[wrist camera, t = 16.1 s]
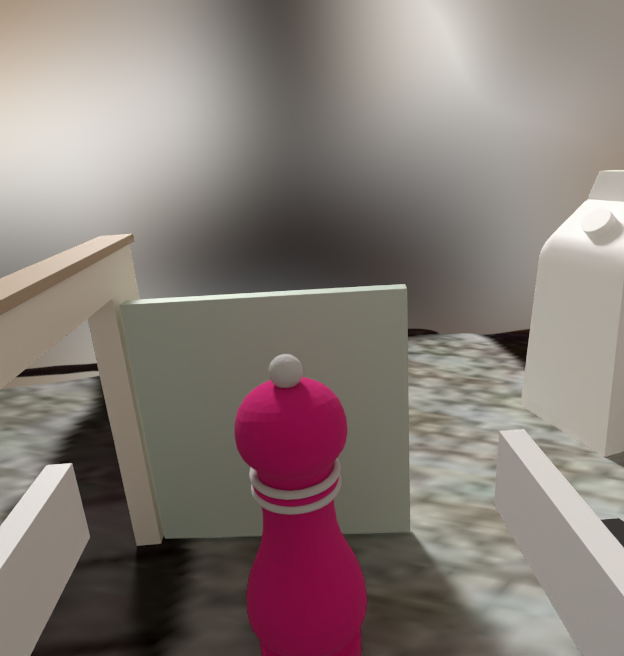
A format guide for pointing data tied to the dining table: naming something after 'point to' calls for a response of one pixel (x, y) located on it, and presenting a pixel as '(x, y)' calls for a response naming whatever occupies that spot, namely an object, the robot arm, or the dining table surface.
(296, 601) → the pepper mill
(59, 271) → the door frame
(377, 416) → the door
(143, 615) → the dining table surface
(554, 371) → the milk
